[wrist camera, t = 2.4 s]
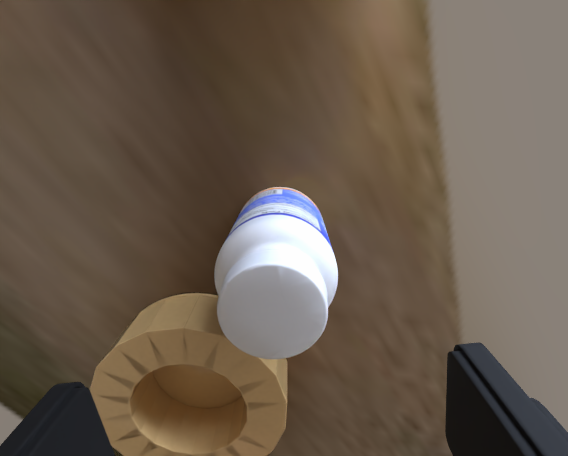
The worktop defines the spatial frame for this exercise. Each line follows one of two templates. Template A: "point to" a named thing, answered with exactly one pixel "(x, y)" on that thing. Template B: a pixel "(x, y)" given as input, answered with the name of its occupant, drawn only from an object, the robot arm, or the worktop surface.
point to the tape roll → (188, 386)
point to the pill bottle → (275, 275)
